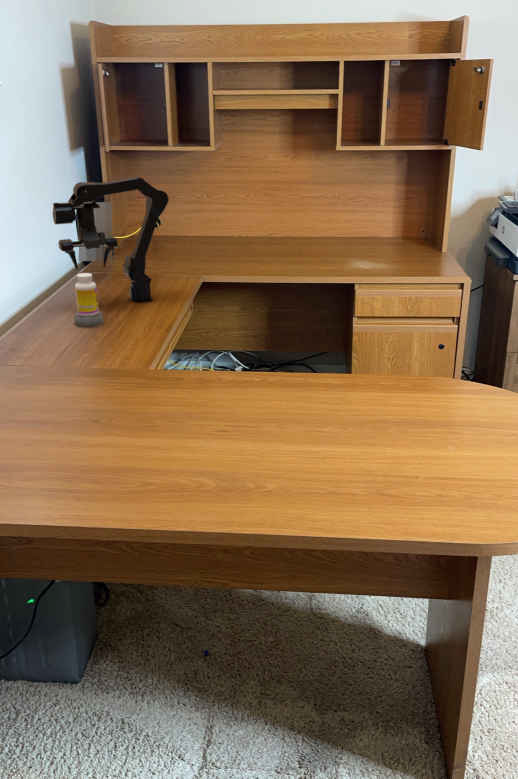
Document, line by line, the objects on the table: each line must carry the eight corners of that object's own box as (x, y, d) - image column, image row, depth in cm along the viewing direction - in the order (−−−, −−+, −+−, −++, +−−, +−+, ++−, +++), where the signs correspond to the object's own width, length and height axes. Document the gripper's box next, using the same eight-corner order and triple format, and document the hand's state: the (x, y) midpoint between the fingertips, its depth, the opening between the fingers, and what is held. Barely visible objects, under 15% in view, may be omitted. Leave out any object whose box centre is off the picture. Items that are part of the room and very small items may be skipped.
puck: (99, 317, 234) (98, 308, 233) (106, 325, 227) (105, 316, 225) (72, 320, 231) (71, 312, 229) (77, 329, 223) (76, 319, 222)
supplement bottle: (100, 315, 226) (96, 276, 221) (79, 318, 224) (75, 278, 218) (97, 310, 231) (93, 271, 226) (76, 312, 229) (72, 273, 224)
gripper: (62, 228, 225) (67, 276, 231) (120, 224, 232) (123, 271, 238) (55, 222, 234) (60, 269, 240) (111, 218, 241) (115, 264, 248)
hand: (90, 268), depth 241 cm, fingers open, 9 cm apart
